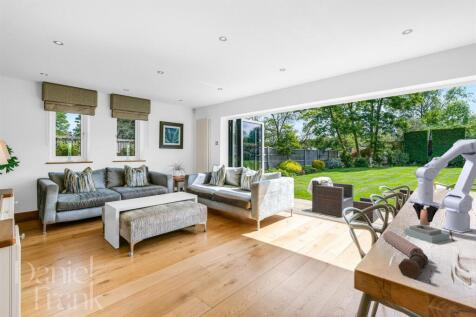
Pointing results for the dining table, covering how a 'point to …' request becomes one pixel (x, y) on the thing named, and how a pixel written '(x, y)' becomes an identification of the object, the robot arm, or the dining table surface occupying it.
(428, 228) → the socket board
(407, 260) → the bolt
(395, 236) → the coil
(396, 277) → the dining table surface
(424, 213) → the peg
